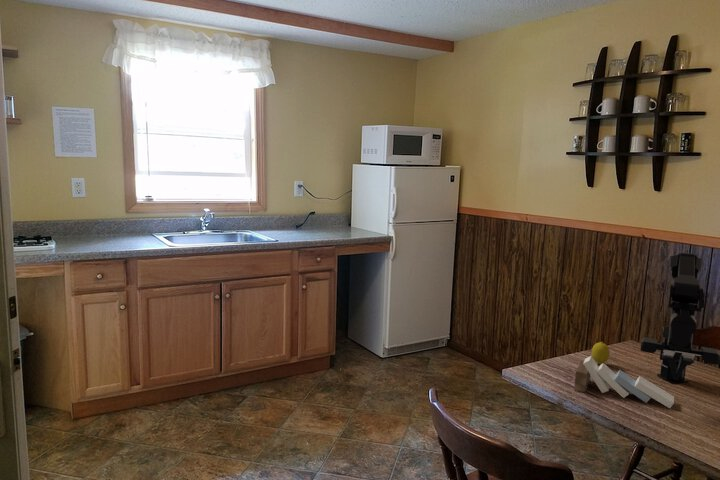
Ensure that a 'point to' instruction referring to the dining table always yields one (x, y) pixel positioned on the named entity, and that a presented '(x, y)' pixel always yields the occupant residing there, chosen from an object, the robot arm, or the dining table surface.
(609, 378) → the domino
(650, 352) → the robot arm
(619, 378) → the blue domino
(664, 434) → the dining table surface
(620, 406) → the dining table surface
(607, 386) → the domino
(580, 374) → the end block
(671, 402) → the domino
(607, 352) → the lemon
